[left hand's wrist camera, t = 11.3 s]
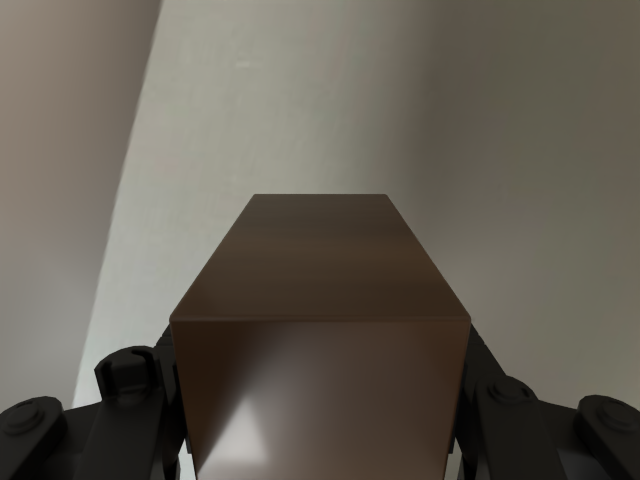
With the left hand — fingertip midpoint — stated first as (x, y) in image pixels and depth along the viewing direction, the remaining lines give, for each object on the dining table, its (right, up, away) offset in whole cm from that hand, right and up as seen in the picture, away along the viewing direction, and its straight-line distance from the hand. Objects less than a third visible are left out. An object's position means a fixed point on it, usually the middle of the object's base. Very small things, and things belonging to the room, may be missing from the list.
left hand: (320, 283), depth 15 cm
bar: (0, -9, +4) cm, 10 cm away
